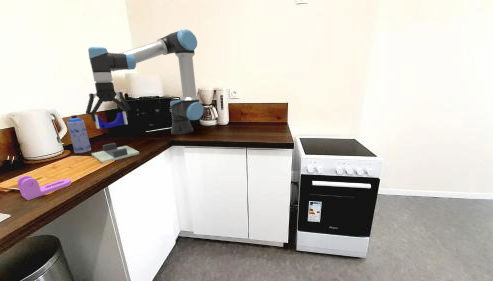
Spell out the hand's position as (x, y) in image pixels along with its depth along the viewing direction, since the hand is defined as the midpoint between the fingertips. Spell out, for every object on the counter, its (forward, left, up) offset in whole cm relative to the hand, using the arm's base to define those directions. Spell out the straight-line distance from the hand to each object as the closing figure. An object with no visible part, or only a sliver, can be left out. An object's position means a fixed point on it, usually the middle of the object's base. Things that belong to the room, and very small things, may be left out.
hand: (112, 126), depth 110 cm
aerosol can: (+11, -24, -15) cm, 30 cm away
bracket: (+30, +23, -15) cm, 41 cm away
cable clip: (0, -2, 0) cm, 2 cm away
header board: (+1, 0, -15) cm, 15 cm away
